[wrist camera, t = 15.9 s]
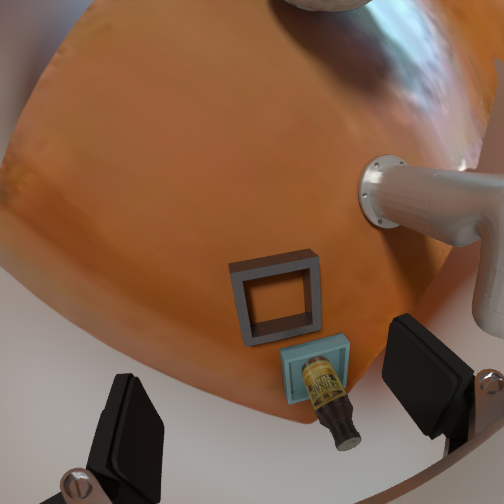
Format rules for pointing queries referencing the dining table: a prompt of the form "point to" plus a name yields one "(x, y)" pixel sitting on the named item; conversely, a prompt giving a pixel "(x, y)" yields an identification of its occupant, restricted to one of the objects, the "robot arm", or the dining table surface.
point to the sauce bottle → (330, 402)
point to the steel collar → (274, 266)
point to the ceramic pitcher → (327, 4)
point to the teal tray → (299, 354)
